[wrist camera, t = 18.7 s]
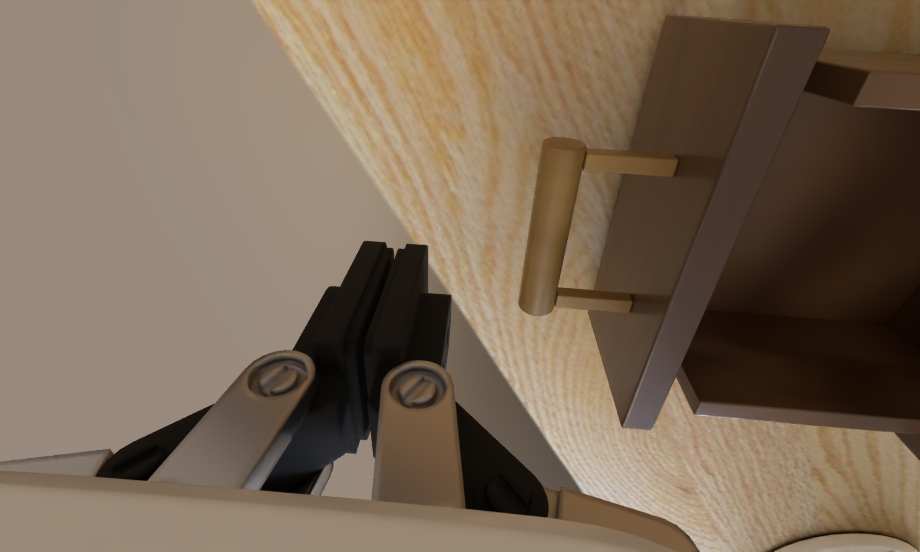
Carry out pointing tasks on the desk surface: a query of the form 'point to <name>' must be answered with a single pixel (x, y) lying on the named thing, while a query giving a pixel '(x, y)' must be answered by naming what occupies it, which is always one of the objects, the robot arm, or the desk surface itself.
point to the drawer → (753, 232)
